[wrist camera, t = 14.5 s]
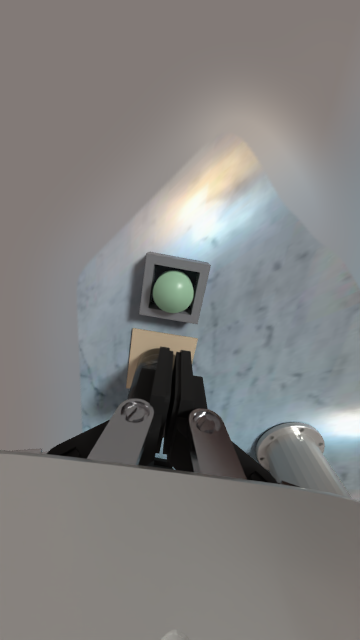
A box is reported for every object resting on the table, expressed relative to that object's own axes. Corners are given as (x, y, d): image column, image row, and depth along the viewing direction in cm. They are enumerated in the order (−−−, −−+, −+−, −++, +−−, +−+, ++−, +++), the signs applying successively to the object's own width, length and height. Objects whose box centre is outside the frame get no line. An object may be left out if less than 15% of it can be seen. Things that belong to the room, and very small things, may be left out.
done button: (188, 308, 31) (189, 316, 28) (153, 302, 31) (150, 309, 28) (195, 273, 29) (197, 277, 26) (158, 266, 29) (155, 269, 26)
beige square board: (184, 395, 38) (184, 396, 38) (126, 386, 37) (126, 387, 37) (197, 338, 34) (197, 339, 34) (133, 328, 33) (132, 328, 33)
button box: (195, 316, 33) (197, 324, 30) (142, 307, 32) (139, 314, 30) (207, 262, 30) (210, 265, 27) (149, 251, 30) (146, 253, 27)
